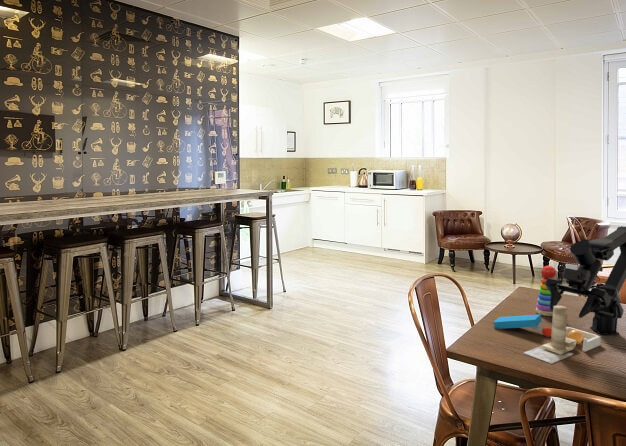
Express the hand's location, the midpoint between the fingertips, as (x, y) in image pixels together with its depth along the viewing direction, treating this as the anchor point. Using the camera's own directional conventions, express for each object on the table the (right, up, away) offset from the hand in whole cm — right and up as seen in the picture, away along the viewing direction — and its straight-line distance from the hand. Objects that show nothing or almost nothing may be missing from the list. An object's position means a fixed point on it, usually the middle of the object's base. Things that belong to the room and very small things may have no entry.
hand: (564, 313), depth 151 cm
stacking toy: (+11, -7, +35) cm, 37 cm away
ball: (+6, -9, +5) cm, 12 cm away
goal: (+7, -11, +6) cm, 14 cm away
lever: (-6, -10, +17) cm, 21 cm away
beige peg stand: (-1, -11, +1) cm, 11 cm away
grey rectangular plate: (-7, -12, -3) cm, 15 cm away
